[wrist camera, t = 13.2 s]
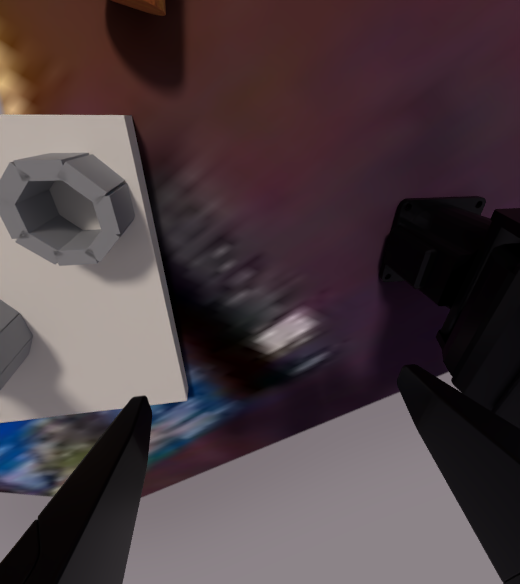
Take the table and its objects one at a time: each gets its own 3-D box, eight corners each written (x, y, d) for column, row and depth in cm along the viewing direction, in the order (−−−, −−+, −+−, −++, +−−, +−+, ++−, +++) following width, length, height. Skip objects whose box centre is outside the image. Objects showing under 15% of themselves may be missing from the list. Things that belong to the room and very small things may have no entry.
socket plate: (131, 115, 14) (98, 113, 10) (188, 387, 26) (183, 437, 22) (-286, 113, 12) (-545, 109, 8) (-20, 410, 24) (-69, 471, 20)
